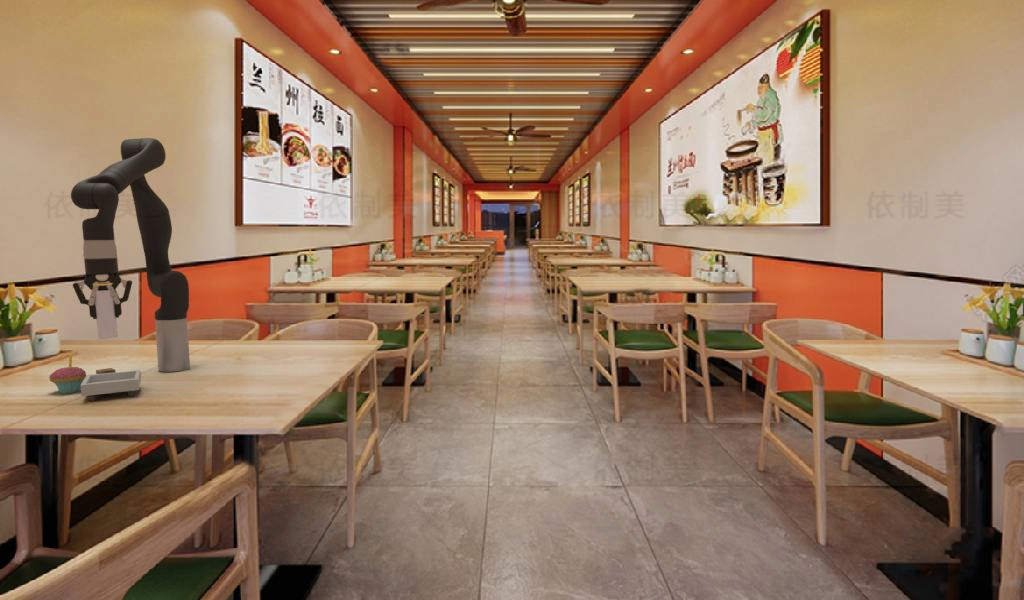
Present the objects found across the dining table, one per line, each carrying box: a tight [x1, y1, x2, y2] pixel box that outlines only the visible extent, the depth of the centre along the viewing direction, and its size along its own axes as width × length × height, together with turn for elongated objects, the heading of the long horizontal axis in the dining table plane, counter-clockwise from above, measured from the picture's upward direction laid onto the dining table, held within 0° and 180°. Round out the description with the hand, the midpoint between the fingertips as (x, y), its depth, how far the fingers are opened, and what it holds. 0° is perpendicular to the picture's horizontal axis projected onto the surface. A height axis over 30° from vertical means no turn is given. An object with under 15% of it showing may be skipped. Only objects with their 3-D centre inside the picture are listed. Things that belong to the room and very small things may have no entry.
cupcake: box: [49, 351, 87, 394], centre depth 168 cm, size 9×8×12 cm
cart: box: [80, 369, 142, 402], centre depth 165 cm, size 13×13×5 cm
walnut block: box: [95, 367, 117, 374], centre depth 179 cm, size 4×4×4 cm
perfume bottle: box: [91, 274, 119, 340], centre depth 163 cm, size 6×6×20 cm
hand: (106, 317), depth 163 cm, fingers closed on perfume bottle, 4 cm apart
